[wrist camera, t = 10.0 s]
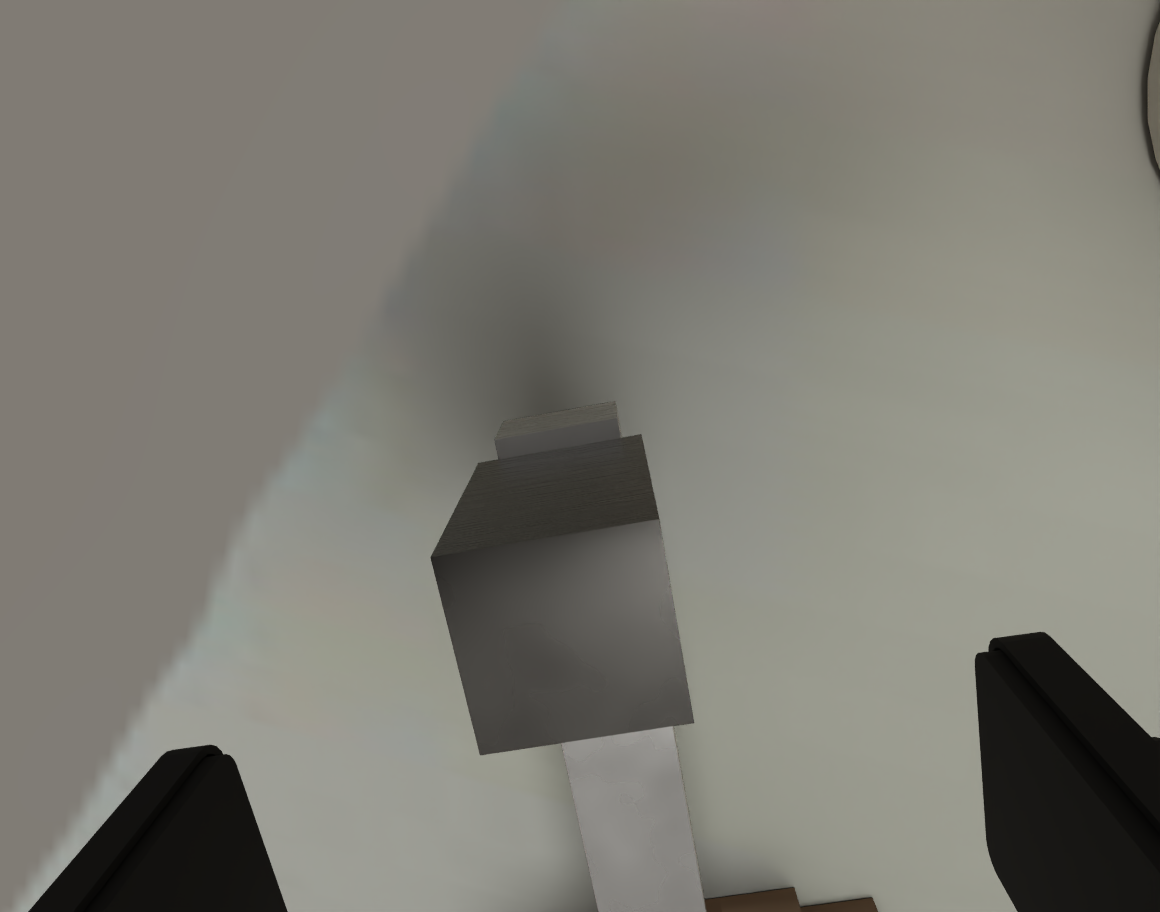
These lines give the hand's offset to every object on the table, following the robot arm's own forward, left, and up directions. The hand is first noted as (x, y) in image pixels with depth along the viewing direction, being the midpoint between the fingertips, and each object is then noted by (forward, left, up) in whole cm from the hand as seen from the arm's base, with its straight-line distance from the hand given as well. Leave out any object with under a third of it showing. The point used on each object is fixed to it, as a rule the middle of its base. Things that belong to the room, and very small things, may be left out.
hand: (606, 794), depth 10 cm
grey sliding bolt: (+9, -1, -12) cm, 15 cm away
